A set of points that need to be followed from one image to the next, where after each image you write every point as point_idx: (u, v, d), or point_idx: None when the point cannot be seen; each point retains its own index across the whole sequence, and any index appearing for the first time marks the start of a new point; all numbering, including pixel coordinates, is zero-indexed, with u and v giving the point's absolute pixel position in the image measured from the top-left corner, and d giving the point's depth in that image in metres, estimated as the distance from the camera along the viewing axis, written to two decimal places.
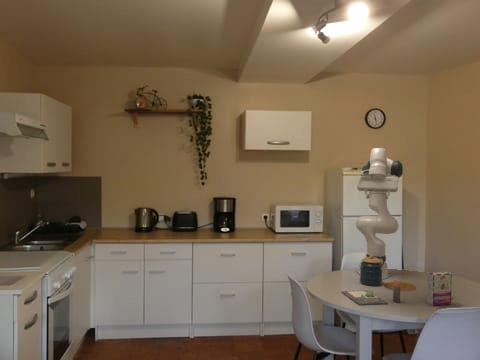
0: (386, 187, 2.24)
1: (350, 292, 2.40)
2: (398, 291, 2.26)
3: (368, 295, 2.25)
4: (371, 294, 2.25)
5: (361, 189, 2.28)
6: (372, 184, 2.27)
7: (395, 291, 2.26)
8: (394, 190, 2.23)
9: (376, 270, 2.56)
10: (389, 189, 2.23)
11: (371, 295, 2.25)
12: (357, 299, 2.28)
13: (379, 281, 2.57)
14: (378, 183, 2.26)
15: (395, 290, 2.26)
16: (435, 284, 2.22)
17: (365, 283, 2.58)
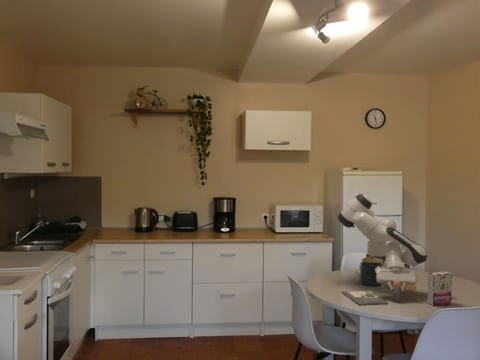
0: None
1: (350, 292, 2.40)
2: (398, 291, 2.26)
3: (368, 295, 2.25)
4: (371, 294, 2.25)
5: (411, 284, 2.29)
6: None
7: (395, 291, 2.26)
8: (379, 281, 2.32)
9: None
10: None
11: (371, 295, 2.25)
12: (357, 299, 2.28)
13: None
14: None
15: (395, 290, 2.26)
16: (435, 284, 2.22)
17: (365, 283, 2.58)
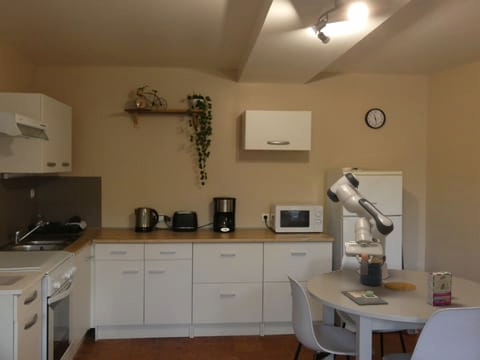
0: None
1: (350, 292, 2.40)
2: (365, 264, 2.34)
3: (368, 295, 2.25)
4: (371, 294, 2.25)
5: (378, 257, 2.37)
6: None
7: (363, 264, 2.34)
8: (348, 255, 2.40)
9: (376, 270, 2.56)
10: None
11: (371, 295, 2.25)
12: (357, 299, 2.28)
13: (379, 281, 2.57)
14: None
15: (363, 263, 2.34)
16: (435, 284, 2.22)
17: (365, 283, 2.58)
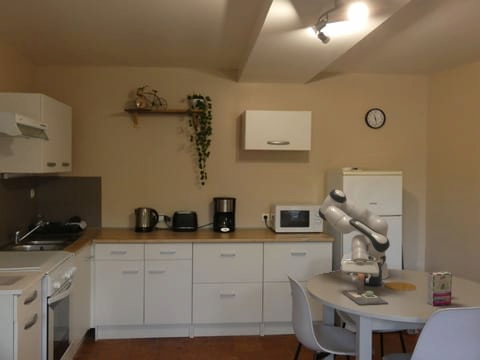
0: None
1: (350, 292, 2.40)
2: (362, 284, 2.35)
3: (368, 295, 2.25)
4: (371, 294, 2.25)
5: (374, 275, 2.38)
6: None
7: (359, 284, 2.36)
8: (344, 273, 2.41)
9: None
10: None
11: (371, 295, 2.25)
12: (357, 299, 2.28)
13: (379, 281, 2.57)
14: None
15: (359, 283, 2.36)
16: (435, 284, 2.22)
17: (365, 283, 2.58)
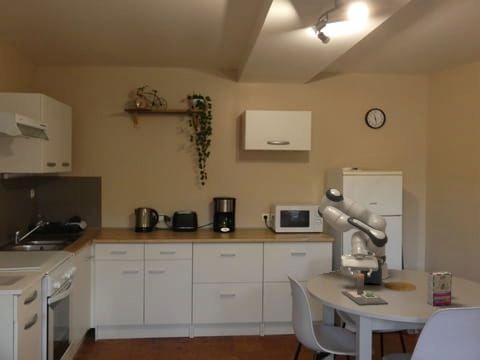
0: None
1: (350, 292, 2.40)
2: (361, 284, 2.35)
3: (368, 295, 2.25)
4: (371, 294, 2.25)
5: (373, 270, 2.48)
6: None
7: (359, 284, 2.36)
8: (344, 268, 2.51)
9: None
10: None
11: (371, 295, 2.25)
12: (357, 299, 2.28)
13: (379, 279, 2.58)
14: None
15: (359, 283, 2.36)
16: (435, 284, 2.22)
17: (366, 281, 2.58)
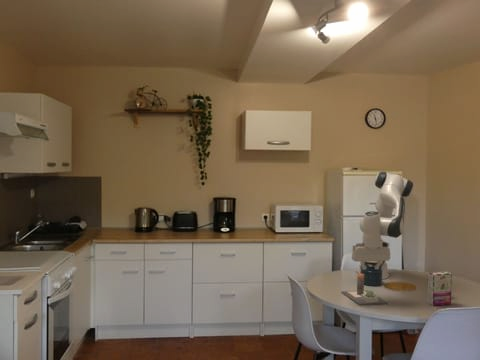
0: None
1: (350, 292, 2.40)
2: (361, 284, 2.35)
3: (368, 295, 2.25)
4: (371, 294, 2.25)
5: None
6: None
7: (359, 284, 2.36)
8: None
9: (377, 270, 2.56)
10: None
11: (371, 295, 2.25)
12: (357, 299, 2.28)
13: (379, 281, 2.57)
14: None
15: (359, 283, 2.36)
16: (435, 284, 2.22)
17: (366, 283, 2.58)
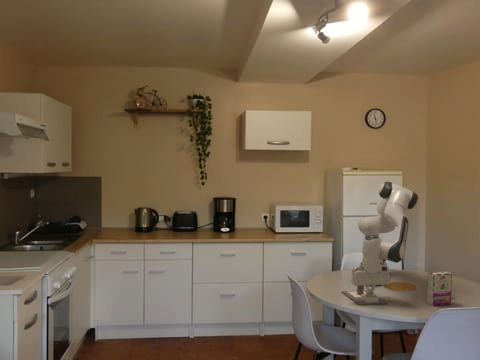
0: None
1: (350, 292, 2.40)
2: None
3: None
4: (371, 296, 2.25)
5: None
6: None
7: None
8: None
9: None
10: None
11: None
12: (357, 299, 2.28)
13: None
14: None
15: None
16: (435, 284, 2.22)
17: None
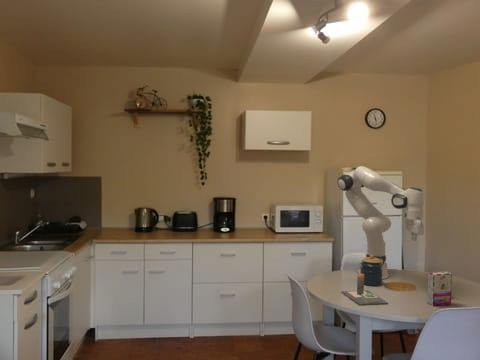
0: (413, 231, 2.43)
1: (350, 292, 2.40)
2: (361, 284, 2.35)
3: None
4: (371, 296, 2.25)
5: (408, 230, 2.56)
6: (409, 227, 2.50)
7: (359, 284, 2.36)
8: None
9: (377, 270, 2.56)
10: (415, 233, 2.42)
11: None
12: (357, 299, 2.28)
13: (379, 281, 2.57)
14: (411, 226, 2.47)
15: (359, 283, 2.36)
16: (435, 284, 2.22)
17: (366, 284, 2.58)
